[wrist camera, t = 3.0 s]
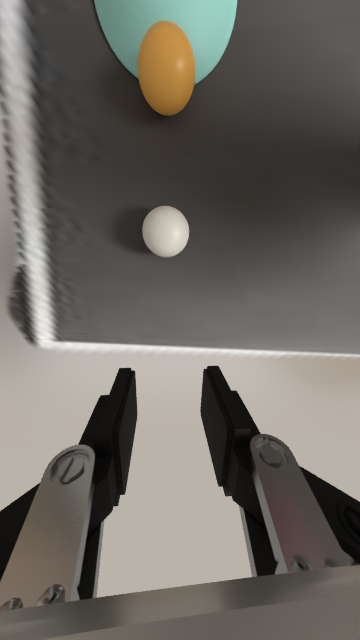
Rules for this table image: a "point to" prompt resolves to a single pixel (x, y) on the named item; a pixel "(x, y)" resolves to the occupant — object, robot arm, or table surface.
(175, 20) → the teal plate
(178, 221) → the white ball
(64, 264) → the table surface
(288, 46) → the table surface
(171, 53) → the orange ball
